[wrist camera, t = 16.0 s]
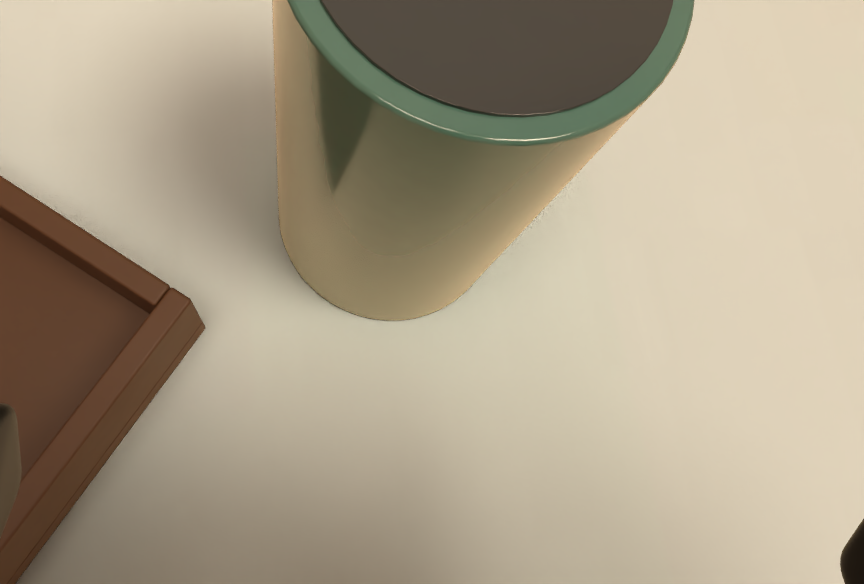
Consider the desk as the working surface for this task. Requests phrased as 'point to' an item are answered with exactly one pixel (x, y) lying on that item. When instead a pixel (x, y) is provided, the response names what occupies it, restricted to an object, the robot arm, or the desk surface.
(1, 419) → the robot arm
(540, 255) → the desk surface
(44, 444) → the tray
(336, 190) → the pen pot
